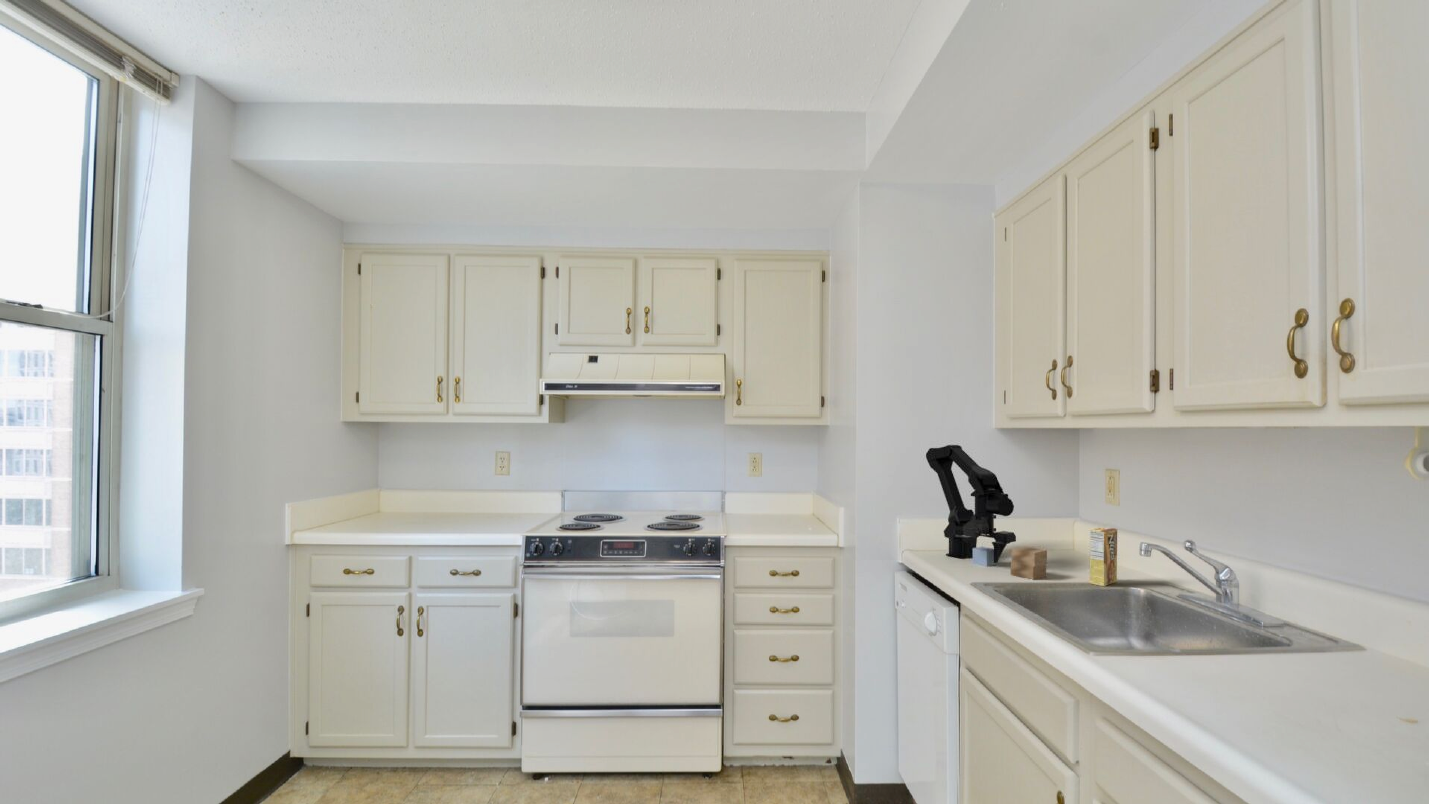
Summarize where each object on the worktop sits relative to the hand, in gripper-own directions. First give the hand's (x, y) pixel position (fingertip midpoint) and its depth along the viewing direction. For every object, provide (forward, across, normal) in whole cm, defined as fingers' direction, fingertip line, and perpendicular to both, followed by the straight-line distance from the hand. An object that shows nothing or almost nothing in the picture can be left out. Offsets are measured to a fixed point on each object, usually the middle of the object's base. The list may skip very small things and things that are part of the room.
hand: (984, 560), depth 220 cm
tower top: (-3, +17, -4) cm, 18 cm away
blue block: (+1, 0, 0) cm, 1 cm away
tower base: (+1, +17, -4) cm, 18 cm away
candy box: (+1, +34, +6) cm, 35 cm away
